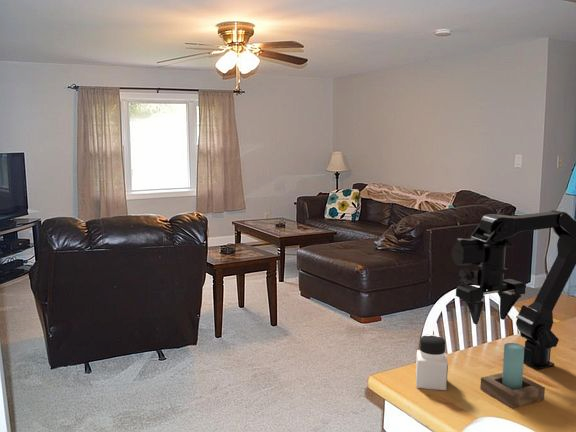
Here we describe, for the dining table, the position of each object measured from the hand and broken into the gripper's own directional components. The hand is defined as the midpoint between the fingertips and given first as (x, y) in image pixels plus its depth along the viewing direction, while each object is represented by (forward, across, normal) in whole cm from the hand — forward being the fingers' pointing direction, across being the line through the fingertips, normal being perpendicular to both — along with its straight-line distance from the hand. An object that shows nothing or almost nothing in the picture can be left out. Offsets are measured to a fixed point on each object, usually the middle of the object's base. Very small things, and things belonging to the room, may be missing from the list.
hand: (488, 321), depth 141 cm
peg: (+13, +5, +14) cm, 19 cm away
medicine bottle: (+13, +19, +1) cm, 23 cm away
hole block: (+13, +5, +14) cm, 19 cm away
